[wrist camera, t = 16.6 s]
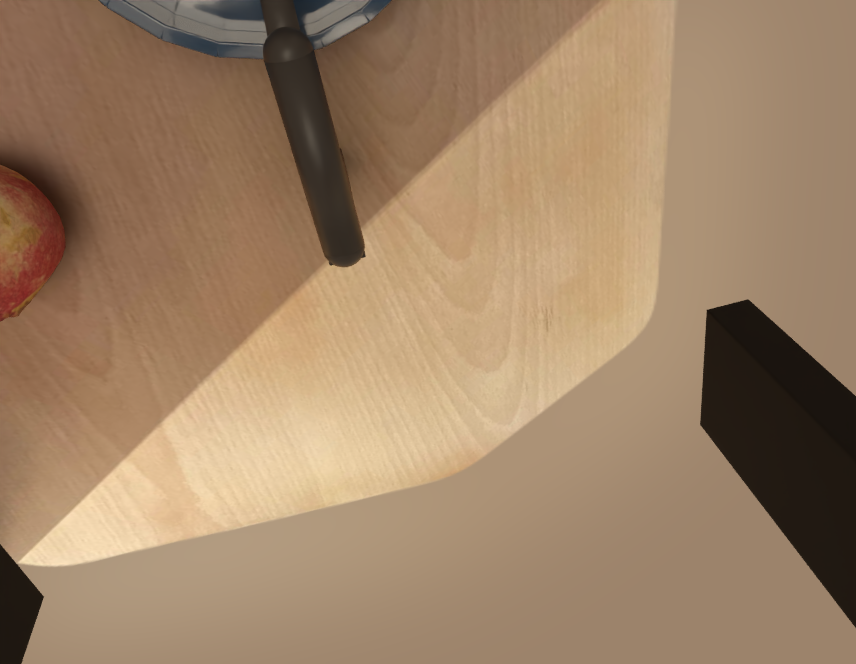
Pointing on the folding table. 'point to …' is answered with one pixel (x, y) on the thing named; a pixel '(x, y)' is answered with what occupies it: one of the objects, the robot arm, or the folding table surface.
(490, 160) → the folding table surface
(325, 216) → the ladle
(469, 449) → the folding table surface
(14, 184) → the fruit
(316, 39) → the bowl
